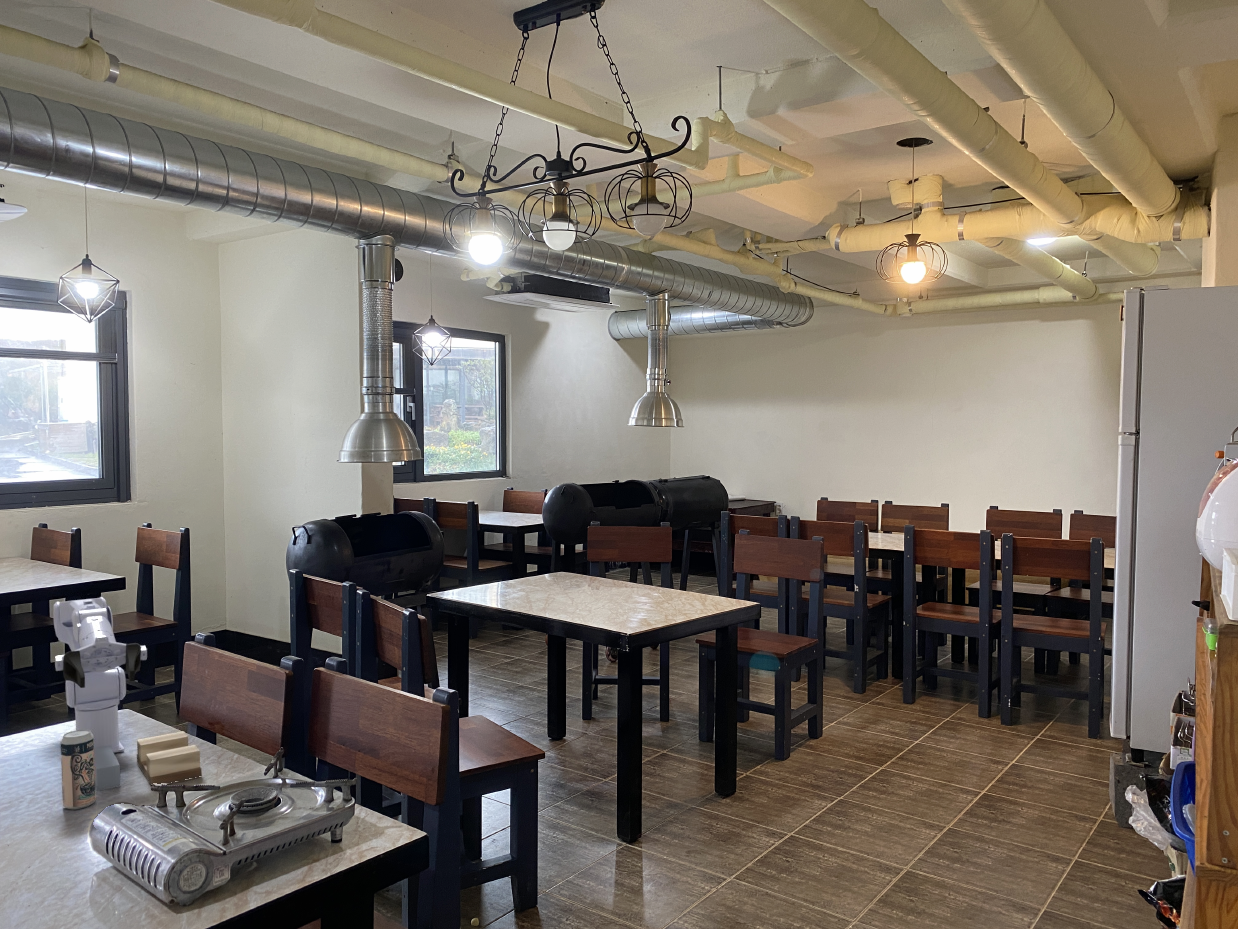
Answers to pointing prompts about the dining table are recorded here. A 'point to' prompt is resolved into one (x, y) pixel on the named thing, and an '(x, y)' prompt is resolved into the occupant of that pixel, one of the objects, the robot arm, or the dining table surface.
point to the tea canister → (78, 769)
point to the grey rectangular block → (106, 768)
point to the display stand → (168, 758)
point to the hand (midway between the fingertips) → (107, 679)
